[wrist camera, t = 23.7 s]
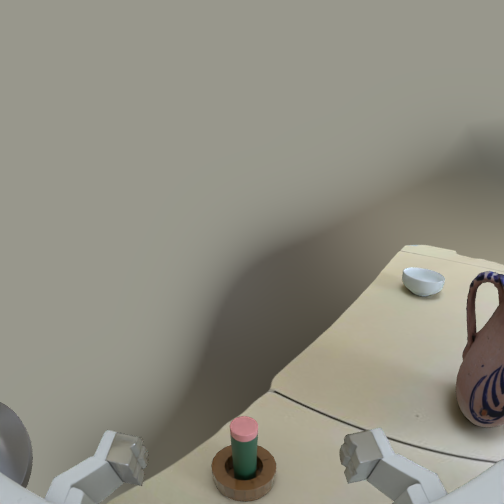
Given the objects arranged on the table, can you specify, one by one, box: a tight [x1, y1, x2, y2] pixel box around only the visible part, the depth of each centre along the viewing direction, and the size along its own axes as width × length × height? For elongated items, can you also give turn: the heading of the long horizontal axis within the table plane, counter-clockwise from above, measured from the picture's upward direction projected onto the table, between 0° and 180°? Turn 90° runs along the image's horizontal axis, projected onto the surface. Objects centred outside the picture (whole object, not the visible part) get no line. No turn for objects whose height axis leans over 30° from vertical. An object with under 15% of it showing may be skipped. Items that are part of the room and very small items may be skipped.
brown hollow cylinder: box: [212, 445, 276, 501], centre depth 26 cm, size 8×8×4 cm
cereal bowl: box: [402, 268, 445, 296], centre depth 85 cm, size 17×17×7 cm
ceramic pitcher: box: [456, 271, 504, 427], centre depth 28 cm, size 18×21×25 cm
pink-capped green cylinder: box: [230, 416, 258, 481], centre depth 25 cm, size 3×3×13 cm
